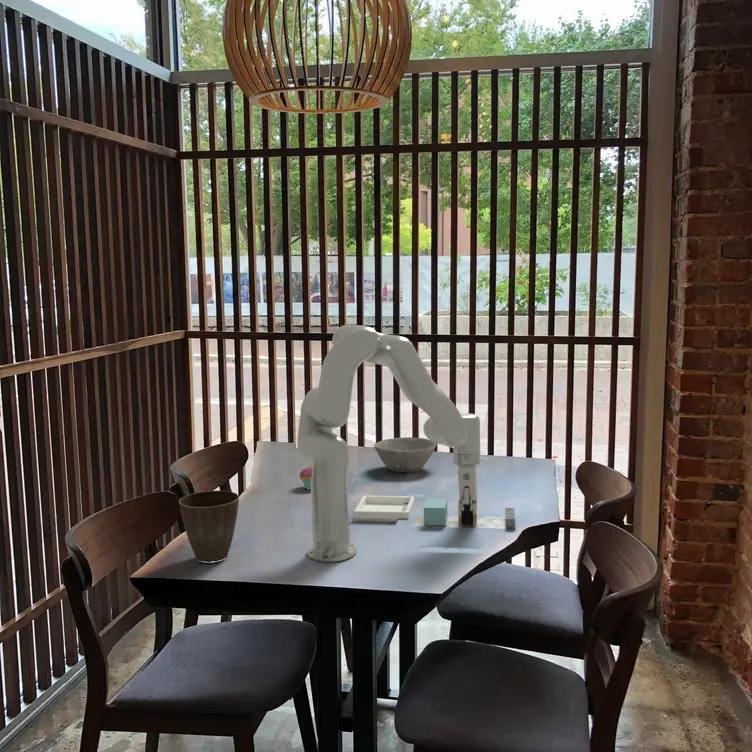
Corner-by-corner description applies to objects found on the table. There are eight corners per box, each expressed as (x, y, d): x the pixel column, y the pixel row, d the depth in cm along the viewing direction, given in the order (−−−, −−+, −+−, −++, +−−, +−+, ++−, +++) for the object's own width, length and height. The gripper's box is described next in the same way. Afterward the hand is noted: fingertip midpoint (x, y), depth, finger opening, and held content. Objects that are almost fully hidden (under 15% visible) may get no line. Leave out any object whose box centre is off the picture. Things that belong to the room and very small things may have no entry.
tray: (408, 522, 216) (408, 512, 215) (354, 521, 218) (354, 511, 218) (414, 505, 231) (414, 496, 231) (363, 504, 234) (363, 495, 233)
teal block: (445, 525, 208) (445, 508, 207) (424, 524, 209) (423, 507, 208) (447, 516, 216) (447, 499, 215) (426, 515, 216) (426, 499, 216)
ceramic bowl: (375, 463, 286) (374, 437, 285) (435, 462, 285) (435, 436, 284) (373, 478, 264) (372, 451, 263) (438, 477, 263) (437, 449, 262)
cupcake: (297, 486, 257) (295, 452, 256) (320, 483, 260) (319, 449, 259) (303, 492, 249) (302, 457, 248) (328, 489, 252) (326, 454, 251)
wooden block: (476, 525, 208) (476, 504, 207) (458, 524, 209) (458, 503, 208) (476, 519, 213) (476, 498, 212) (459, 518, 214) (459, 498, 213)
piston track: (515, 533, 204) (515, 519, 203) (413, 530, 208) (412, 516, 208) (514, 521, 214) (514, 507, 213) (416, 519, 218) (416, 506, 218)
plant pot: (217, 544, 202) (214, 487, 200) (254, 556, 193) (251, 496, 191) (170, 561, 191) (166, 500, 189) (206, 574, 181) (203, 510, 179)
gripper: (479, 465, 199) (480, 531, 202) (481, 451, 216) (481, 512, 218) (451, 465, 201) (452, 530, 203) (455, 451, 217) (456, 511, 220)
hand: (467, 520), depth 211 cm, fingers closed on wooden block, 5 cm apart
